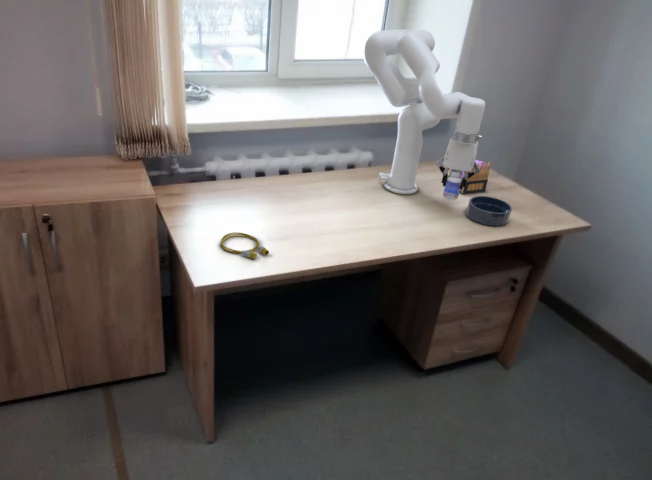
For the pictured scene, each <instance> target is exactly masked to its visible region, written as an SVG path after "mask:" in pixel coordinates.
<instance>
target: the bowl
mask: <svg viewBox="0 0 652 480" xmlns="http://www.w3.org/2000/svg"><path fill="white" fill-rule="evenodd" d="M512 210H513V208H512V205H510V204H509V203H508V202H507V201H505V200H503V199H500V198H496V197H493V196H489V195H477V196H472V197H471V198H469V201H468V205H467V208H466V211H465V214H466V216H467V217H468V218H469V219H470V220H472V221H474V222H476V223H479V224H482V225H486V226H492V227H493V226H494V227H497V226H499V227H500V226H504V225H506V224H507V223H508V222H509V220H510V217H511V214H512Z"/></svg>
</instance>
